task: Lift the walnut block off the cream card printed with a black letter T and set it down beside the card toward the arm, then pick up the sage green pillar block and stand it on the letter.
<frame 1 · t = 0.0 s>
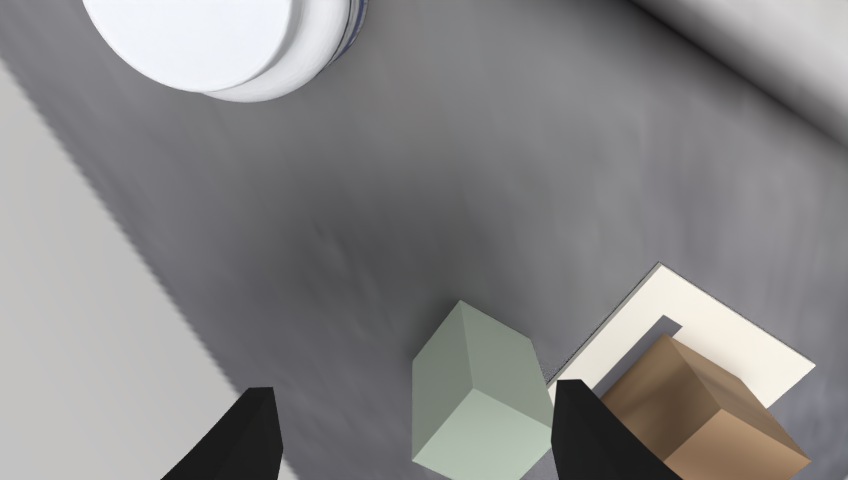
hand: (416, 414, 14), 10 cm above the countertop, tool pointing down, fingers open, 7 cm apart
sage pillar: (470, 350, 25), on the countertop
walnut block: (666, 392, 26), resting on letter card
letter card: (663, 387, 26), on the countertop
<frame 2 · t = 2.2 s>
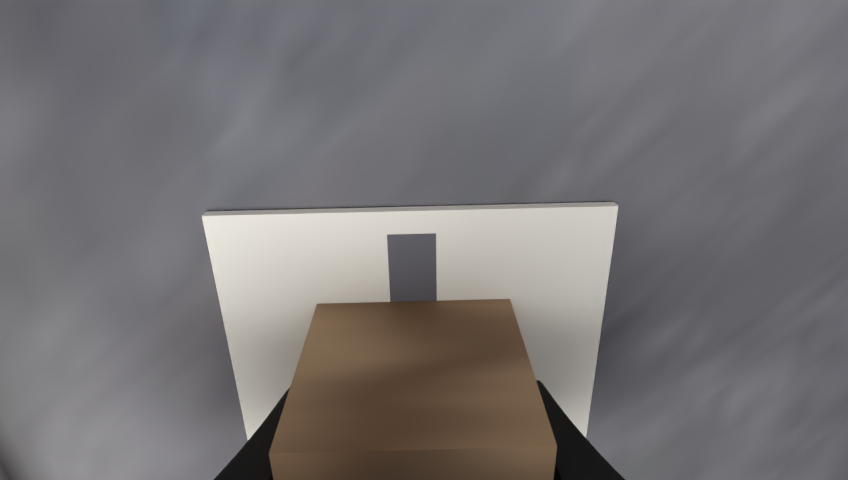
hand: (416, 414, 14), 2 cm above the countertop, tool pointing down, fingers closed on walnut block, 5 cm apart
walnut block: (415, 378, 15), resting on letter card, touching gripper
letter card: (415, 371, 15), on the countertop
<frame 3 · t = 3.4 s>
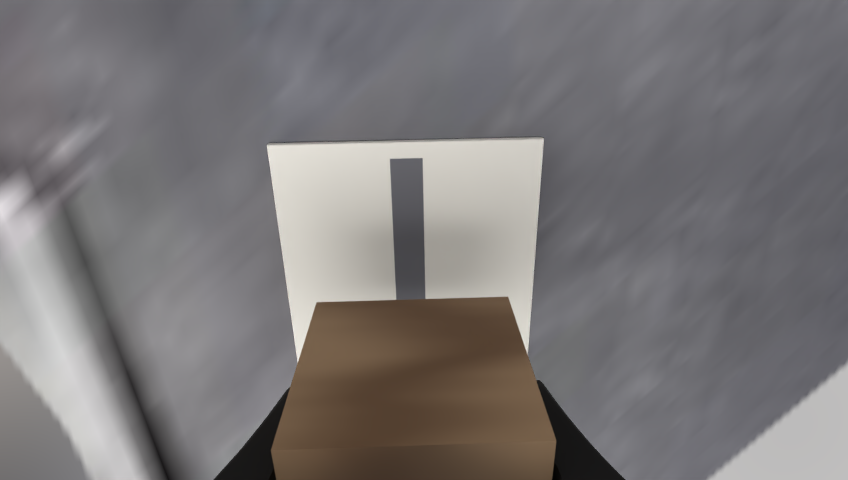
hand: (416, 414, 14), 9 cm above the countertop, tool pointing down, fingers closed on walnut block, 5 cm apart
walnut block: (415, 376, 15), point 7 cm above the countertop, touching gripper
letter card: (409, 262, 21), on the countertop
when the fingers open (3 cm above the countertop, at t = 5.1 s): walnut block drops 1 cm, on the countertop.
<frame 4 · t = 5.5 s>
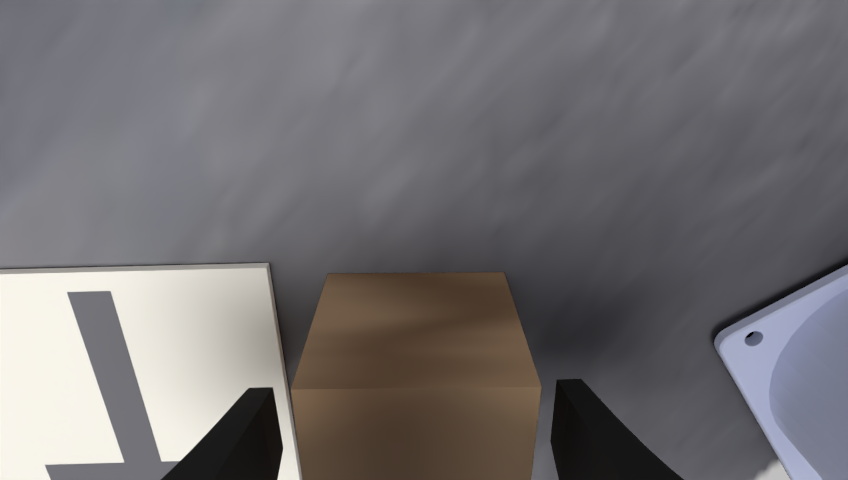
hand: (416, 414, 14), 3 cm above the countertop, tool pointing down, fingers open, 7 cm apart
walnut block: (416, 344, 16), on the countertop
letter card: (132, 407, 17), on the countertop
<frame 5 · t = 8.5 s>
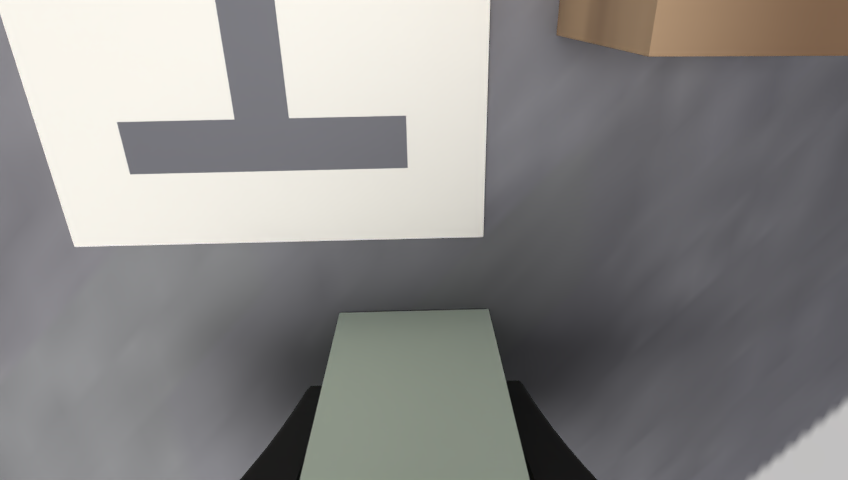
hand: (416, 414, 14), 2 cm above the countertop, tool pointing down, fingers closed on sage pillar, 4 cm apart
sage pillar: (415, 371, 15), on the countertop, touching gripper
letter card: (251, 21, 11), on the countertop
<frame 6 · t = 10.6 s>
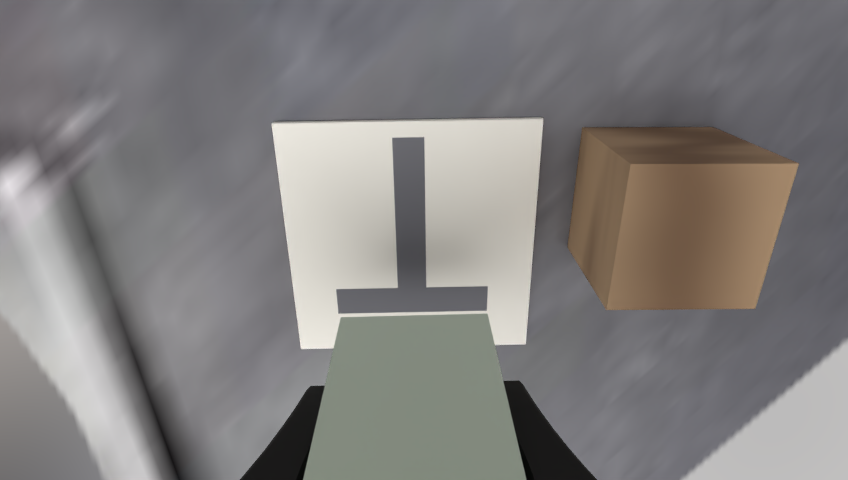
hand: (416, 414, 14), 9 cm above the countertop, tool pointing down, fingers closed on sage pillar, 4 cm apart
sage pillar: (416, 374, 15), point 8 cm above the countertop, touching gripper
walnut block: (636, 189, 21), on the countertop
letter card: (411, 241, 22), on the countertop
when the fingers open (3 cm above the countertop, at t = 12.6 s): sage pillar stays where it is, resting on letter card.
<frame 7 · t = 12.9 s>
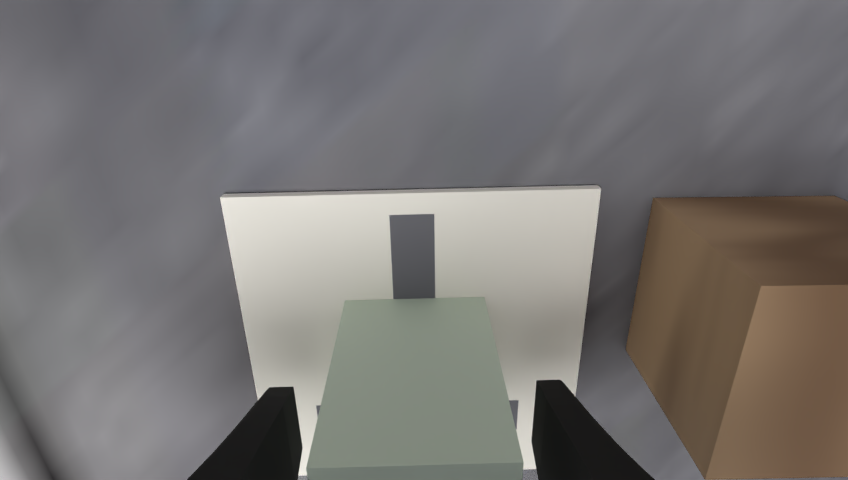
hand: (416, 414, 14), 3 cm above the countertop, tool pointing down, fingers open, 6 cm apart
sage pillar: (416, 355, 16), resting on letter card
walnut block: (722, 276, 16), on the countertop
letter card: (415, 344, 16), on the countertop
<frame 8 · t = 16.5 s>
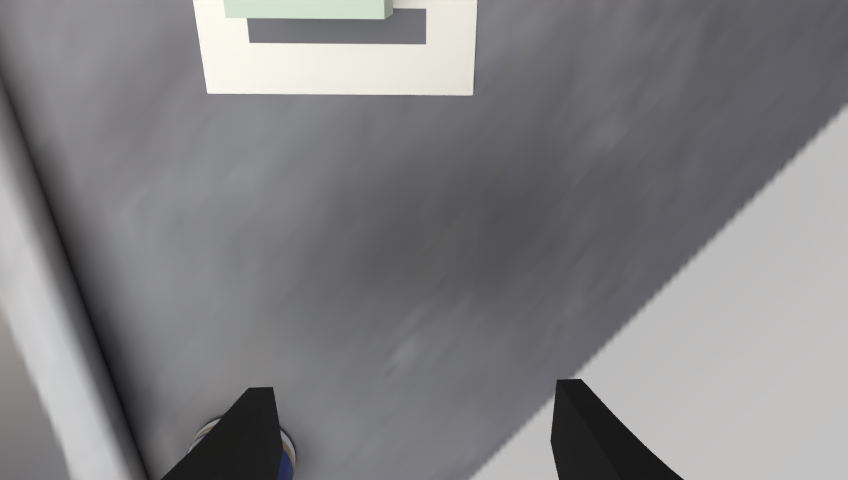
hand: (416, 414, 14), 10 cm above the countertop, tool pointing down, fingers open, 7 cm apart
pill bottle: (247, 448, 28), on the countertop
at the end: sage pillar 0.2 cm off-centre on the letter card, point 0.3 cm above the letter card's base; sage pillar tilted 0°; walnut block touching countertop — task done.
